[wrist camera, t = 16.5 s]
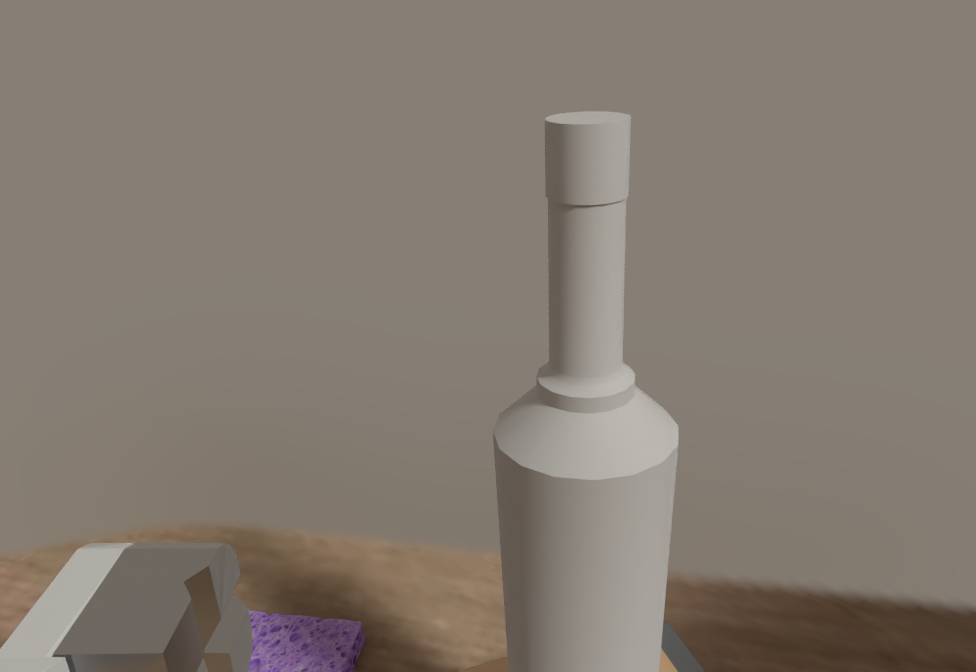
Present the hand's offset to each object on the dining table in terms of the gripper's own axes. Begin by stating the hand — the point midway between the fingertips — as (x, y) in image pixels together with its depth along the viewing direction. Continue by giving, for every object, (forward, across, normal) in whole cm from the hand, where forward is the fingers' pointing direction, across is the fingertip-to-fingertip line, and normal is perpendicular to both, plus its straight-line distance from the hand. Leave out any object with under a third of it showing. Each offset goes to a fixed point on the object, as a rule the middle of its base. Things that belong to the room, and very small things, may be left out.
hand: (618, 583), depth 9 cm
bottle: (+13, +1, -22) cm, 26 cm away
